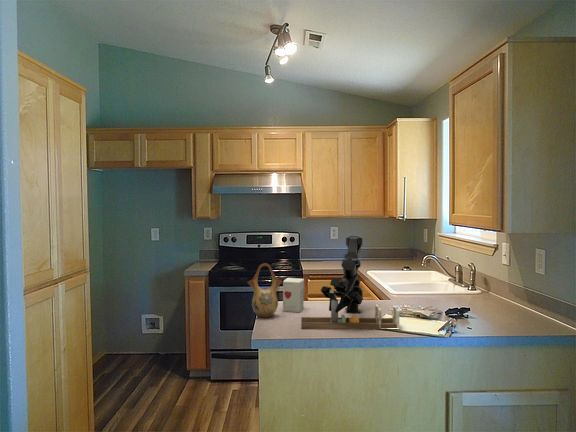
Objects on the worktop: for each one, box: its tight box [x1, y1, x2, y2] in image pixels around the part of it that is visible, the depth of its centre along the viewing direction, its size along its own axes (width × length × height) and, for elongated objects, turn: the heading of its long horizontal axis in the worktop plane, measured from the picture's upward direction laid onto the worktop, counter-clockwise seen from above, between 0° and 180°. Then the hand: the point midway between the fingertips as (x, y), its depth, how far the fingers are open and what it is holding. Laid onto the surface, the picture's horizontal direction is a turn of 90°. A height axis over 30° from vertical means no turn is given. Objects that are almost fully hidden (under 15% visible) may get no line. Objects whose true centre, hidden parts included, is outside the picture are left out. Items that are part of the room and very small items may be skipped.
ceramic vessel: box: [246, 262, 283, 318], centre depth 180 cm, size 16×9×25 cm, turn 95°
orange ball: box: [349, 315, 359, 323], centre depth 166 cm, size 4×4×4 cm
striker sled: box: [330, 299, 347, 323], centre depth 166 cm, size 6×6×11 cm
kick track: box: [300, 303, 401, 331], centre depth 166 cm, size 8×41×8 cm, turn 88°
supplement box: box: [282, 277, 305, 313], centre depth 191 cm, size 9×9×15 cm
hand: (332, 311), depth 163 cm, fingers closed on striker sled, 3 cm apart
